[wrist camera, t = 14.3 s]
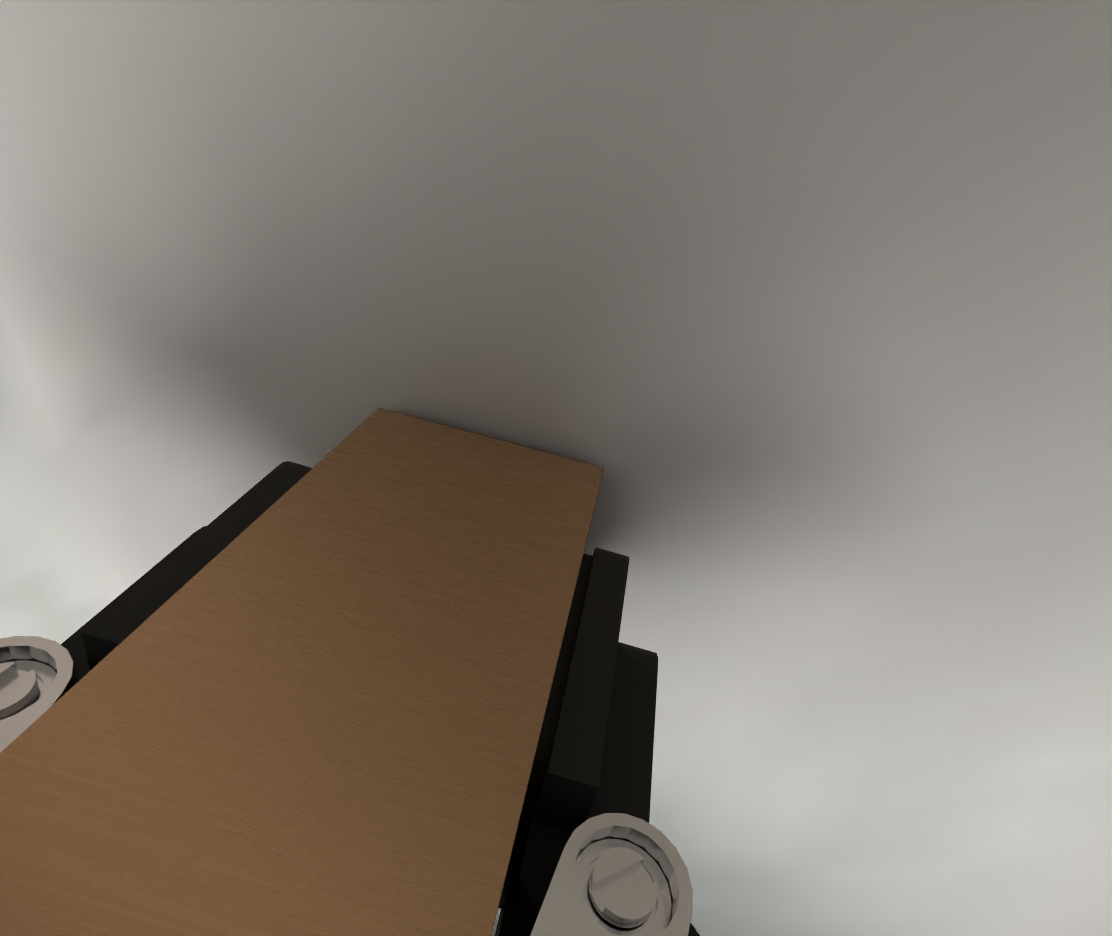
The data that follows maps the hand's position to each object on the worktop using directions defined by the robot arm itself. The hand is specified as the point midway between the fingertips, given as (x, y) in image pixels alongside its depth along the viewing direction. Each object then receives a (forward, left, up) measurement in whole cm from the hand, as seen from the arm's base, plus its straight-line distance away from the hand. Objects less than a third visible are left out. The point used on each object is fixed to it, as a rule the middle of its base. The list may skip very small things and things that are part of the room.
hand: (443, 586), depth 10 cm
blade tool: (+6, 0, -2) cm, 6 cm away
